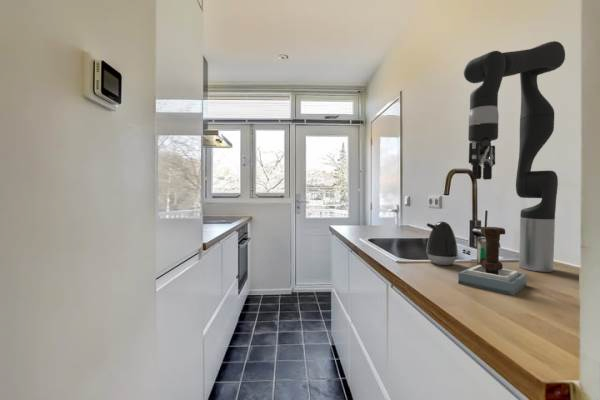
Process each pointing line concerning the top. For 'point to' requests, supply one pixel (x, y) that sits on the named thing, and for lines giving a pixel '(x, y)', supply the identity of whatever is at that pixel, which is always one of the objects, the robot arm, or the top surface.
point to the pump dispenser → (441, 244)
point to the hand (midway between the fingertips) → (482, 179)
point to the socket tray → (493, 280)
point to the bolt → (492, 249)
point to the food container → (481, 250)
